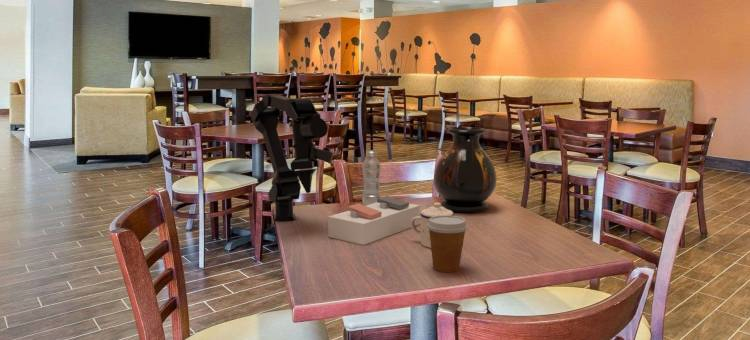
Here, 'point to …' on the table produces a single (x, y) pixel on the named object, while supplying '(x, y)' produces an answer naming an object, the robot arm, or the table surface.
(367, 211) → the red rocker
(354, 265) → the table surface
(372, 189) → the plastic bottle
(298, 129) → the robot arm
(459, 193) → the amphora vase
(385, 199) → the charcoal rocker
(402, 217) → the block
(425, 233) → the teacup with lid
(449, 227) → the disposable coffee cup
